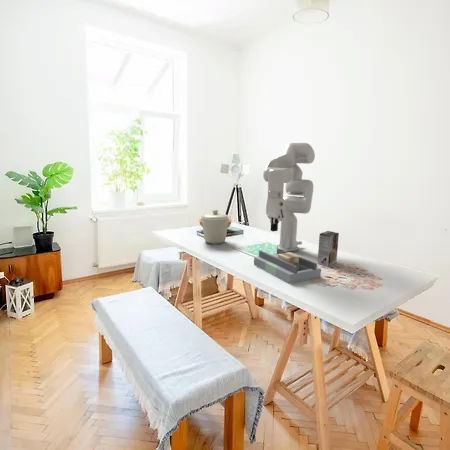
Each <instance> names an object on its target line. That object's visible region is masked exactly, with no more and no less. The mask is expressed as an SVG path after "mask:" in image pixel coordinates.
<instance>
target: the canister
mask: <svg viewBox="0 0 450 450" xmlns="http://www.w3.org/2000/svg"><path fill="white" fill-rule="evenodd" d="M230 218H231V217H230V216H229V215H228V214H225V213H221V212H219V211H218V209H213V210H212V212H210V213H209V212H208V213H205V214H203V215H201V216H200V219H202V224H203V227H202V233H203V238H204V241H205V242H206V243H208V244H211V245H212V244H213V245H217V244H222V243H224V242H225V241H226V238H227V234H228V233H227V232H228V228H229V227H228V219H230ZM227 227H228V228H227Z"/></svg>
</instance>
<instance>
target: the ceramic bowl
mask: <svg viewBox="0 0 450 450" xmlns="http://www.w3.org/2000/svg"><path fill="white" fill-rule="evenodd" d="M198 222H199V226H201V227H202V228H203V224H202V218H200V219H199V220H198ZM231 225H232V219H230V218H229V219H228V227H227V229H228V228H229V227H230V226H231Z"/></svg>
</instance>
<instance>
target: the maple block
mask: <svg viewBox="0 0 450 450" xmlns="http://www.w3.org/2000/svg"><path fill="white" fill-rule="evenodd" d="M299 256H300V255H298V256H297V254H295V253H293V254H292V252H290V253H283V254H278V258H279V259H281V260H284V261H286V262H288V263H290V264H292V265H298V264H299Z"/></svg>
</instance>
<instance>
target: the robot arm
mask: <svg viewBox="0 0 450 450" xmlns="http://www.w3.org/2000/svg"><path fill="white" fill-rule="evenodd" d="M315 156H316V155H315V150H314V149H313V147H312V146H311V144H309V143H307V142H291V143H288V144H287V145H286V146H285V147H284V149H283V151H282V153H281V155H278V157H275V158H273V159H271V160H270V161H269V162H268V163H267V164H266V166H265V168H264V171H263V174H262V175H263V179H264V181H265V182H266V183H267V197H266V206H265V214H266V216H267V218H268V219H269V223H270V232H277V231H278V229H279V223H280V232H279V233H280V234H279V244H278V245H276V249H277V248H280V249H283V250H285V251H288V252H295V251H298V250H299V246H298V245H300V246H301V245H303V242H302V241H301V240H299V241H298V240H297V235H298V233H297V232H298V231H297V230H298V218H297V216H296V214H303V215H305V214H309V213H310V211H311V209H312V202H313V201H312V200H313V194H314V183H313V181H312V180H310V179H303V171H302V170H303V169H302V168H301V167H300V166H299V165H298V164H308V165H309V164H313V163H314V161H315ZM284 185H285V193H286V194H287V195H285V196H284Z"/></svg>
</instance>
